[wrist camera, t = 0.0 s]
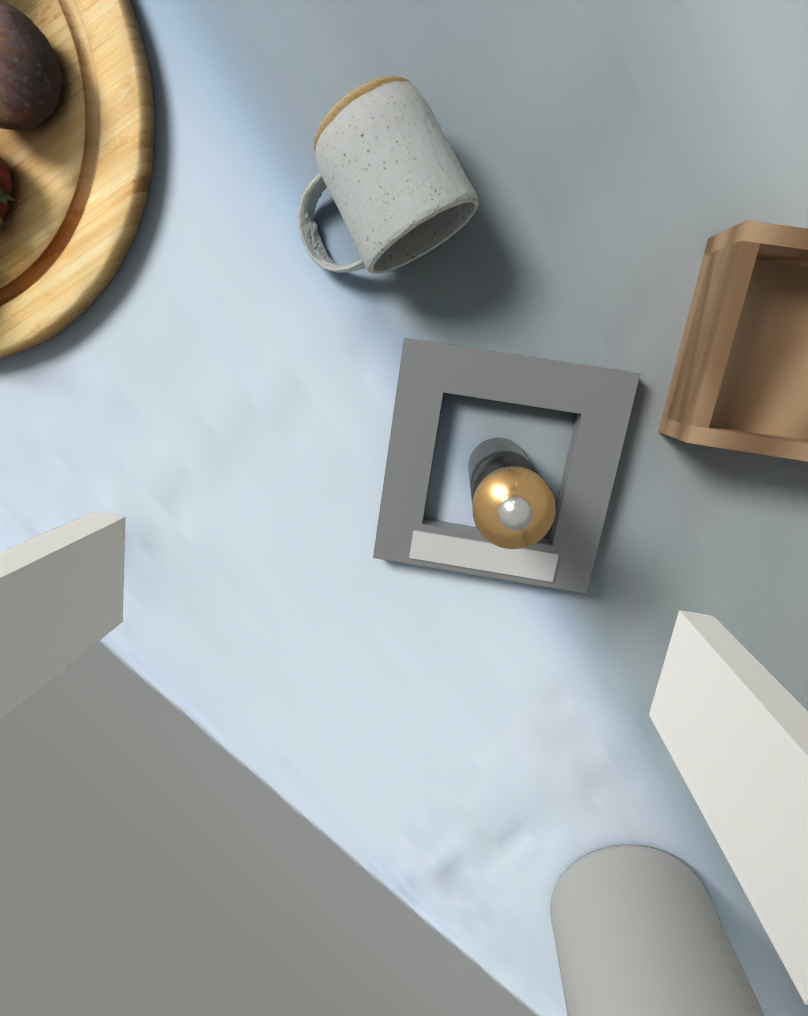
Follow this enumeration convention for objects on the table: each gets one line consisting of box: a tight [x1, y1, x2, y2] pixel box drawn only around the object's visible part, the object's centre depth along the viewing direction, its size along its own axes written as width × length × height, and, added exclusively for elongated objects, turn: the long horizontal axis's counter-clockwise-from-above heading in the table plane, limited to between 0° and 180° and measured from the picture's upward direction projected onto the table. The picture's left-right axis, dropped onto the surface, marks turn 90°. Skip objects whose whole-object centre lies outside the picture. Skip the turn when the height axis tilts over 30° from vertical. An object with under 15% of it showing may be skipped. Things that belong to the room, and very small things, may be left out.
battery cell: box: [468, 438, 556, 549], centre depth 35 cm, size 4×4×13 cm
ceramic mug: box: [298, 76, 479, 274], centre depth 34 cm, size 10×8×7 cm
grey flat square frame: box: [373, 338, 640, 594], centre depth 40 cm, size 15×15×2 cm
